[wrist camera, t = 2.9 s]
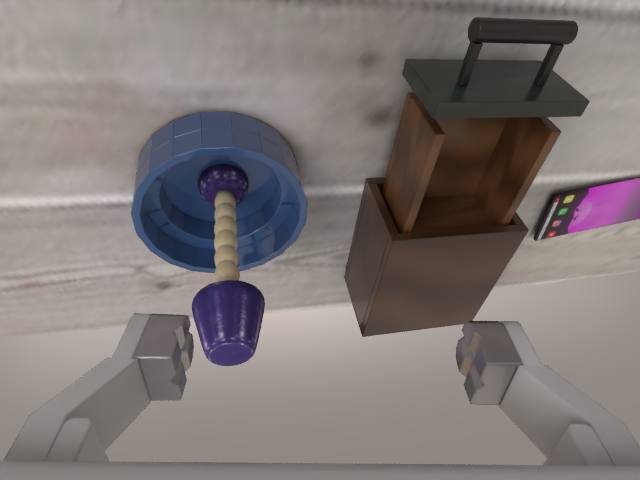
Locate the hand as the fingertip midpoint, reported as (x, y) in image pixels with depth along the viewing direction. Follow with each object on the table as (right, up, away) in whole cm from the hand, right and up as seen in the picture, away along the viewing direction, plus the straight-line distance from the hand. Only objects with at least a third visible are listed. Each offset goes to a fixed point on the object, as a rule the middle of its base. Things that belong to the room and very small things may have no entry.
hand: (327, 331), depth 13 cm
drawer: (+11, +13, +23) cm, 29 cm away
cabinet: (+10, +4, +34) cm, 36 cm away
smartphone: (+32, +7, +38) cm, 50 cm away
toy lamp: (-9, +8, +24) cm, 27 cm away
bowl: (-9, +8, +24) cm, 27 cm away
